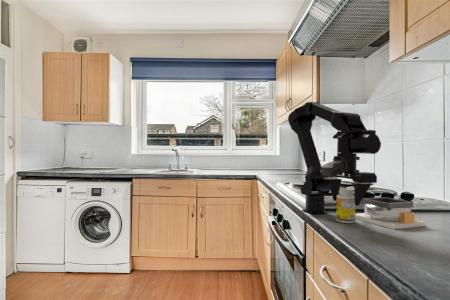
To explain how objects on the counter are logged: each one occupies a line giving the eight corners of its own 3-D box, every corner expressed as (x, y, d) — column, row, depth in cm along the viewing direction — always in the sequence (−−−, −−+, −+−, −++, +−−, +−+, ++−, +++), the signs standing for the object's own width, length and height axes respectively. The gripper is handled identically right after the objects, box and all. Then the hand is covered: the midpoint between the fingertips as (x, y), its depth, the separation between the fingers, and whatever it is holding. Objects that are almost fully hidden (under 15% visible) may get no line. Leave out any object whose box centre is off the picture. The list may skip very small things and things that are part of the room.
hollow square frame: (355, 214, 104) (355, 198, 104) (384, 212, 109) (384, 196, 109) (393, 224, 91) (393, 205, 91) (424, 221, 96) (425, 203, 96)
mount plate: (351, 217, 105) (351, 213, 105) (380, 215, 110) (380, 211, 110) (394, 229, 91) (394, 224, 91) (425, 225, 96) (425, 221, 96)
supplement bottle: (336, 218, 103) (337, 187, 103) (355, 220, 101) (356, 188, 101) (335, 222, 98) (335, 189, 98) (354, 224, 96) (355, 190, 96)
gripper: (306, 152, 105) (305, 199, 105) (349, 153, 88) (347, 210, 88) (333, 152, 109) (332, 198, 109) (378, 154, 92) (377, 208, 92)
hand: (345, 203), depth 99 cm, fingers open, 9 cm apart
